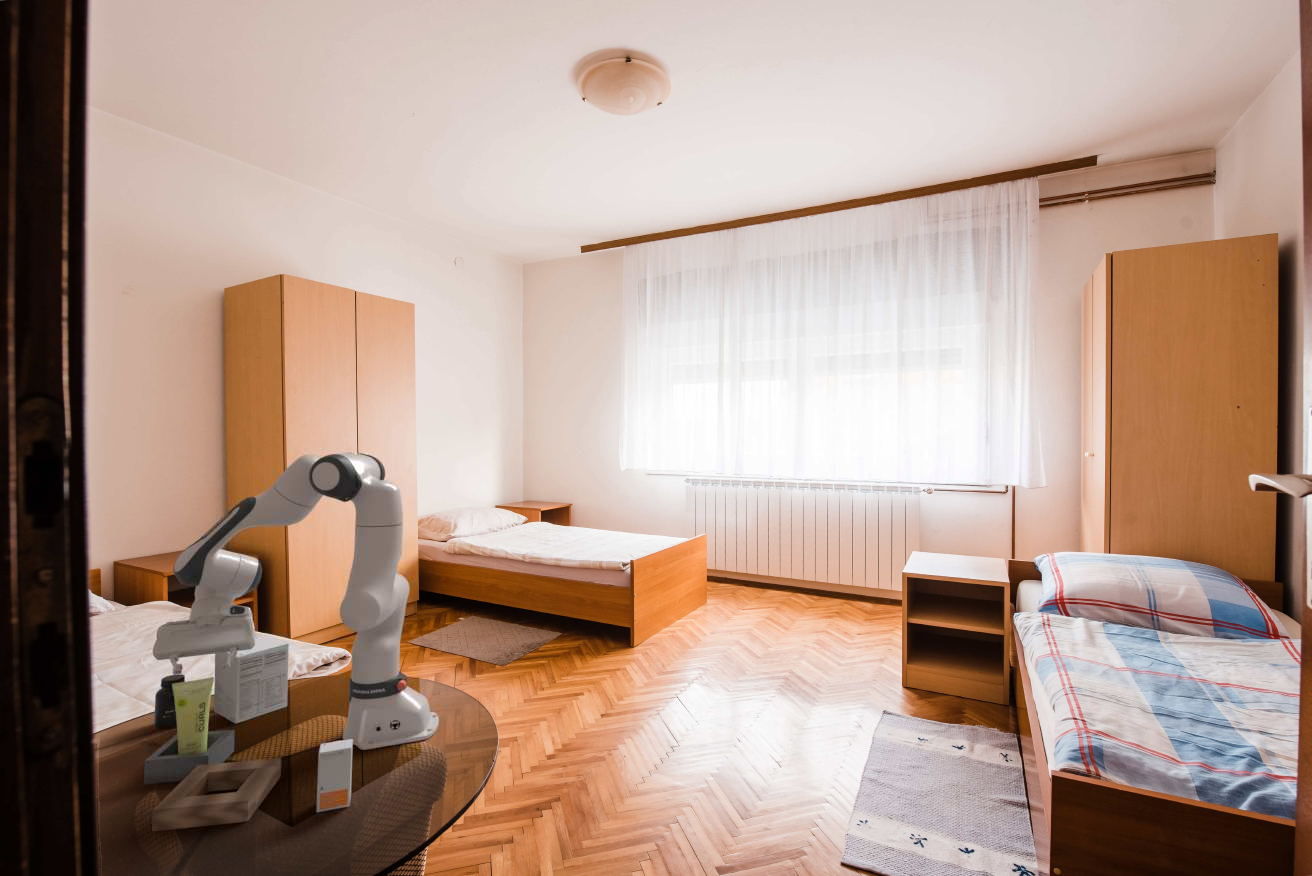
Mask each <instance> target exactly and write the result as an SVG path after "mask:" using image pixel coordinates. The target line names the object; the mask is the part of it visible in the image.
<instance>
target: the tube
mask: <svg viewBox="0 0 1312 876" xmlns="http://www.w3.org/2000/svg"><path fill="white" fill-rule="evenodd" d="M214 683H215V676H212V677H211V676H210V677H206V678H200V679H199V678H198V679H195V680H194V679H193V680H189V681H185V682H181V683H175V684H172V688H173V693H174V700H175V709H176V720H177V727H176V730H177V731H176V732H177V733H176V734H177V735H178V755H181V754H193V753H204V752H205V751H206V750H207V735H208V732H209V719H210V709H211V708H210V707H211V700H212V691H213V686H214Z"/></svg>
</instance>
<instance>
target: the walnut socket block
mask: <svg viewBox="0 0 1312 876" xmlns="http://www.w3.org/2000/svg"><path fill="white" fill-rule="evenodd" d="M281 769H282V758H281V757H279V758H267V759H266V758H265V759H256V760H255V759H254V760H246V761H245V760H244V761H232V762H231V761H229V762H223V763H219V764H207V765H198V766H197V767H196V768H195V769H194V770H193V771H192V772H191V773H190V774H189V775H188V776H187V777H186V778H185V779H184V780H183V781H180V782H179V783H178V784H177V785H176V786H175V787H174V789H172V791H170V792H169V793H168V794H167V795H166V796H165V797H164V798H163V799H162V800H161V801H160V802H159V803H158V804H157V805H156V806H155V807H153V809H152V824H151V827H152V830H151V832H159V831H160V832H161V831H168V830H169V831H170V830H177V829H178V830H179V829H187V828H197V827H206V826H216V825H225V824H235V823H243V822H248V821H249V820H250V819H251V818H252V817H253V815H254V813H255V812H256V811H257V809H258V808H259V806H260V805H261V804H262V803H263V801H264V800H265V798H266V797H267V796H268V794H269V793H270V791H271V790H272V789H273V788H274V787H275V785H276V784H277V782H278V781H279V779H280V778H281V774H282V770H281ZM228 790H237V791H236V792H235V791H233V792H224V793H214V794H207V793H208V792H218V791H228Z"/></svg>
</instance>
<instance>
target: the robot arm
mask: <svg viewBox="0 0 1312 876" xmlns="http://www.w3.org/2000/svg"><path fill="white" fill-rule="evenodd" d="M385 478H386V470H385V466H384V464H383V462H381V460H379V458H377V457H375V456H373V455H370V454H366V453H361V454H358V453H353V452H343V453H332V454H327V455H325V456H319V455H316V454H304V455H301V456H299V457H298V458H296V460H294V461H293V462H292V463H291V464H290V465H289V466H287V468H286V469H285V470H284V471H283V472H282V473H281V475H279V477H278V478H277V479H276V481H275V482H274V483H273V484H272V486H270V487H269V488H267V489H266V490H265V491H263V492H261V493H260V494H258V495H255V496H249V497H246V498H244V499H242V500H241V501H240V502H239V503H237V504H236V505H234V506H233V507H232V508H231V509H230V510H228V511H227V512H226V514H225V515H224V516H223V517H222V518H220V519H219V520H218V521H217V522H216V523H215V524H214V525H213V526H212V527H210V529H208V530H207V531H206V532H205V533H204V534H203V535H202V536H201V537H200V538H199V539H197V540H196V541H195V542H193V543H191V544H190V545H189V546H188V547H186V548H185V549H184V550H183V551H182V552H181V553H180V555H179V556H178V557H177V559H176V560H175V562H174V565H173V569H172V571H173V574H174V575H175V577H176V579H177V580H178V582H179V583H180V584H181V585H184V586H190V587H191V586H193V587H195V589H194V590H195V591H194V598H195V599H194V601H193V602H192V605H191V609H190V614H189V619H186V620H185V619H184V620H178V621H167V622H166V623H164V624H162V625H160V626H159V627H158V628H157V630H156V635H155V637H156V639H155V641H154V644H153V648H152V655H153V657H154V658H155V659H156V660H157V661H165V660H170V663H171V665H172V666H173V668H172V675H176V674H182V672H183V664H182V663H178V662H179V660H180V659H181V658H189V657H199V656H206V655H215V654H216V653H224V652H230V655H229V656H228V657H227V658H225V659H223V660H222V662H223V663H222V668H229V667H230V663H231V661H232V660H233V659H234V657H235V656H236V655H237V651H241V650H250V649H252V648H253V647H254V646H255V638H256V629H255V628H256V627H255V624H254V623H255V622H254V620H253V618H254V617H253V612H252V609H251V608H250V607H248V606H245V605H244V606H243V605H237V604H234V601H235V600H236V599H237V598H241V597H243V596H245V595H247V594H249V593H251V592H252V591H254V590H255V589H256V588H257V587H259V584H260V583H261V578H262V574H263V567H262V564H261V562H260V560H259V559H258V558H256V557H253V556H250V555H246V554H242V553H237V552H233V551H229V550H225V549H222V548H223V547H224V546H225V545H226V544H227V543H228V542H230V540H231V539H232V538H233V537H235V536H236V535H237V534H238V533H240V532H241V531H242V530H245V529H246V530H247V529H249V528H253V527H255V528H257V527H285V526H286V527H287V526H291V525H295V524H298V523H300V522H302V521H303V520H305V518H306V517H308V516H309V515H310V513H311V512H312V511H313V510H314V509H315V507H316V506H317V504H318V503H319V502H320V500H321V499H322V498H323V496H325V497H328V498H331V499H334V500H337V501H340V502H343V503H346V502H349V501H351V502H352V503H353V505H354V508H355V521H354V524H355V527H354V546H353V547H354V548H353V550H354V552H353V559H352V564H351V568H350V569H351V570H350V573H349V577H348V582H347V586H346V591H345V594H344V597H343V599H342V601H341V603H340V606H339V618H340V619H341V622H342V623H343V625H345V627H347V628H348V629H350V630H352V631H355V632H356V631H357V632H356V636H355V639H354V642H353V644H352V648H351V677H350V678H349V681H348V682H349V683H348V702H349V707H348V714H347V720H346V724H345V727H344V731H343V733H342V740H349V739H353V746H356V747H358V749H360V750H363V751H364V750H372V749H377V748H383V747H388V746H396V745H402V744H406V743H407V744H408V743H412V742H413V743H414V742H418V741H423V740H427V739H429V738H430V737H432V736H434V734H435V733H436V732H437V729H439V725H440V719H439V715H438V713H436V712H434V711H431V709H430V704H429V701H428V699H427V697H426V696H425V695H423V694H421V693H419V692H418V691H417V690H415V689H413V688H412V687H409V686H408V672H405V674H404V673H403V672H401V671H400V655H401V654H400V653H401V652H400V645H401V639H402V638H401V637H402V632H403V626H404V621H405V615H406V607H407V602H408V598H409V595H410V592H411V591H410V583H409V581H408V579H407V578H406V577H405V576H403V575H402V574H400V573H398V572H397V571H398V568H399V567H398V566H399V562H400V560H401V557H402V554H403V529H404V527H403V525H404V523H403V522H404V521H403V517H404V515H403V514H404V513H403V503H402V502H403V501H402V496H401V491H400V487H398V485H397V484H395V483H394V482H392V481H389V480H385Z"/></svg>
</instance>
